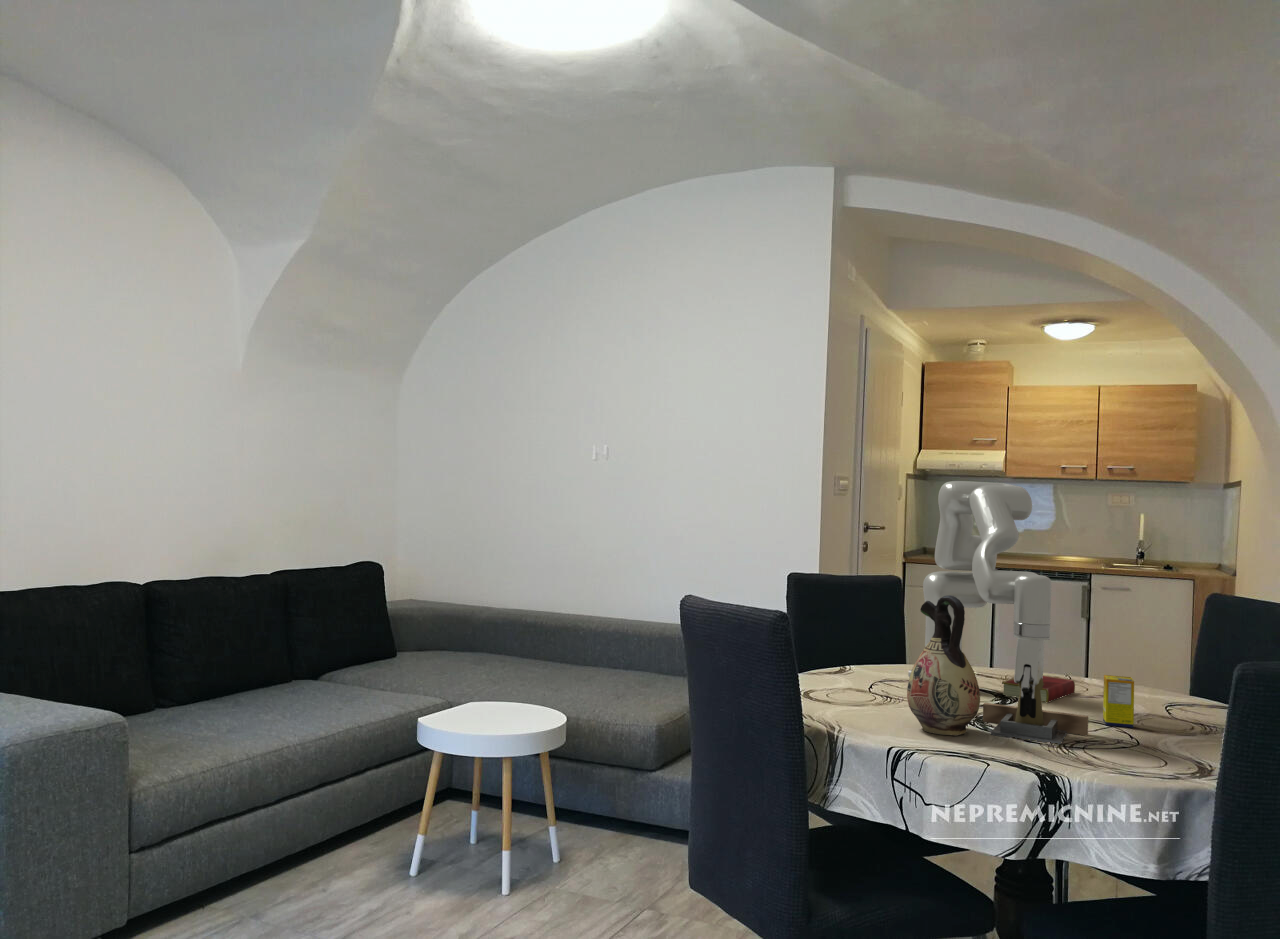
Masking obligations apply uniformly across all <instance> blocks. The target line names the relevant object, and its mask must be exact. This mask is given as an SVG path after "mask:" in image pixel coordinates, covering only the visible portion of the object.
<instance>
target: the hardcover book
mask: <svg viewBox="0 0 1280 939" xmlns="http://www.w3.org/2000/svg"><path fill="white" fill-rule="evenodd" d="M1042 679H1043V687H1042V689H1041V690H1040V693H1041V701H1045V702H1044V703H1046V702H1049V701H1051V700H1054V699H1057V698H1059V699H1061V698H1060V697H1062V696H1065V695H1067V696H1069V695H1068V694H1070V695H1072V694H1071V693H1073V694H1074V693H1075V691H1076V684H1075V683H1076V682H1075V680H1074V679H1068V678H1062V677H1056V676H1048V675H1043V678H1042ZM1001 685H1003V694H1002V695H1007V696H1006V697H1008V696H1016V697H1019V695H1020V687H1019V685H1018V683H1015V682H1014V678H1011V679H1008V680H1005V681H1002V682H1001ZM1065 697H1066V696H1065ZM1062 698H1063V697H1062ZM1057 700H1058V699H1057ZM1054 701H1055V700H1054ZM1051 702H1052V701H1051ZM1049 703H1050V702H1049Z"/></svg>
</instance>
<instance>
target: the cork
mask: <svg viewBox="0 0 1280 939" xmlns="http://www.w3.org/2000/svg"><path fill="white" fill-rule="evenodd" d="M1021 684H1022V677H1021V681H1019V683H1018V685H1019V687H1020V695H1019V698H1018V700H1017V706H1016V707H1017V713H1016V719H1015V722H1021V723H1028V724H1035V725H1043V726H1044V721H1043V712H1042V710H1043V704H1042V703H1043V702H1041V693H1040V690H1041V689H1042V687H1043V679H1042V678H1041V679H1040V681H1039V684H1037V685H1036V687H1035V699H1036V717H1035V718H1031V717H1030V716H1029V715H1028V714H1027V715H1026V716H1025V717H1022V716H1020V697H1021ZM1030 684H1033V682H1031V681H1030ZM1030 688H1031V689H1032V687H1030Z"/></svg>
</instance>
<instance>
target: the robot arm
mask: <svg viewBox="0 0 1280 939" xmlns="http://www.w3.org/2000/svg"><path fill="white" fill-rule="evenodd" d="M937 498H938V499H937V502H938V507H939V508H938V509H939V517H940V518H939V525H938V532H937V536H936V543H935V549H934V561H935V564H936V566H937V567H939V568H941V569H943V570H949V571H942V570H940V571H933V572H930V573H928V574H927V575H926V576H925V578H924V579H923V582H922V589H923V590H922V591H923V599H924V603H925V602H926V601H930V602H932V603H933V604H934V605H935V606H936V605H937V602H938V600H939V599H940V598H942V597H943V596H947V595H951V596H954V597H956V598H957V599H959V600H960V601H961V603H962V604H963V606H964V608H970V609H971V608H975V609H977V608H983V607H984V606H986V605H987V603H988V604H997V605H998V604H1001V605H1003V604H1004V605H1005V604H1006V605H1013V631H1012V632H1013V633H1012V634H1013V635H1012V636H1013V638H1016V639H1017V640H1016V645H1015V646H1016V648H1015V659H1014V660H1015V661H1014V662H1015V663H1014V677H1013V679H1014V682H1015V683H1019V681H1021V677H1022V684H1021V697H1020V716H1022V717H1025V716H1026V715H1027V714H1028V715H1029V716H1030V717H1031V718H1035V717H1036V699H1035V687H1036V685H1037V684H1039V681H1040V679H1041V678H1043V676H1044V663H1045V641H1049V640H1051V617H1052V616H1051V615H1052V614H1051V613H1052V580H1051V578H1050V577H1048V576H1046V575H1042V574H1037V573H1036V572H1032V571H1023V570H1022V571H1020V570H1019V571H1017V570H998V569H997V570H996V565H997V561H998V560H997V559H998V554H1000V553H1003V552H1006V551H1008V550H1009V549H1011V548H1013V547H1014V546H1015V545H1016V544H1017V542H1018V541H1019V538H1020V536H1019V535H1020V534H1019V530H1018V528H1017V526H1016V523H1015V521H1025V520H1027V519H1028V518H1029V517H1030V515H1031V514H1032V510H1033V501H1032V498H1031V495H1030V493H1029V492H1028V491H1027V490H1026V489H1025V488H1024V487H1023V486H1018V485H1014V484H1010V483H1005V482H1004V483H1003V482H986V481H985V482H984V481H972V480H969V481H968V480H952V481H947V482H945V483H943V484H942V485H941V486H940V489H939V491H938V496H937ZM972 515H973V516H972ZM974 523H975V524H976V528H977V531H978V534H979V535H975V534H974V535H972V533H973V529H974ZM968 571H969V572H968ZM948 612H949V614H950V616H951V618H952V623H951V625H950V629H951V633H952V626H953V620H954V613H953V608H952V607H951V606H950V605H949V606H948ZM934 631H935V622H934V621H933V620H932V619H931V618H930V617H928V616H926V615H925V631H924V632H925V634H924V636H925V637H924V638H925V639H924V648H925V647H926V646H927V644H928V643H929V642H930V640H931V638H932V637H933V635H934ZM962 647H963V636H962V637H961V640H960V650H961V651H962ZM962 652H963V651H962ZM911 672H912V669H909V670H908V674H907V675H908V677H910V674H911ZM1030 681H1031V682H1033V684H1030ZM1030 687H1032V689H1031V688H1030Z"/></svg>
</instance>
